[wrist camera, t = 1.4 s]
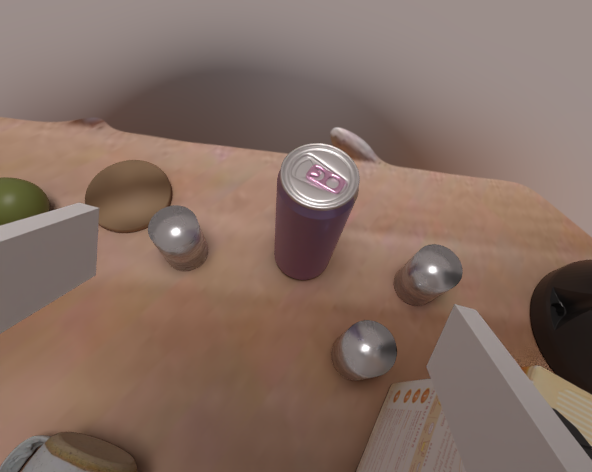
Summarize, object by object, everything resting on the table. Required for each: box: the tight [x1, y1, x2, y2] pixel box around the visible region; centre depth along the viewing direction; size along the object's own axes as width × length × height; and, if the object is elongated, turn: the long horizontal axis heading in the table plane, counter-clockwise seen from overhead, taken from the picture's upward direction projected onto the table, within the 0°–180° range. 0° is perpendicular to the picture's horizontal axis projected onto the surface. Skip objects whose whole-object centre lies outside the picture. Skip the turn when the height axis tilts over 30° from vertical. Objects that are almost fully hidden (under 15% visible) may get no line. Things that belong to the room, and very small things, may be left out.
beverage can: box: [274, 143, 359, 280], centre depth 30 cm, size 6×6×15 cm
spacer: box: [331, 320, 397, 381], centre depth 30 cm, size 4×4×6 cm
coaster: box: [85, 160, 172, 233], centre depth 38 cm, size 9×9×1 cm
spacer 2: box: [394, 244, 462, 306], centre depth 34 cm, size 4×4×6 cm
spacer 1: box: [148, 206, 208, 271], centre depth 34 cm, size 4×4×6 cm
